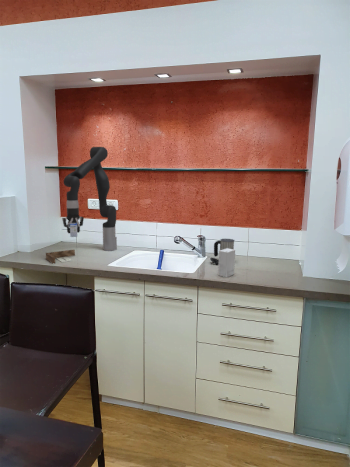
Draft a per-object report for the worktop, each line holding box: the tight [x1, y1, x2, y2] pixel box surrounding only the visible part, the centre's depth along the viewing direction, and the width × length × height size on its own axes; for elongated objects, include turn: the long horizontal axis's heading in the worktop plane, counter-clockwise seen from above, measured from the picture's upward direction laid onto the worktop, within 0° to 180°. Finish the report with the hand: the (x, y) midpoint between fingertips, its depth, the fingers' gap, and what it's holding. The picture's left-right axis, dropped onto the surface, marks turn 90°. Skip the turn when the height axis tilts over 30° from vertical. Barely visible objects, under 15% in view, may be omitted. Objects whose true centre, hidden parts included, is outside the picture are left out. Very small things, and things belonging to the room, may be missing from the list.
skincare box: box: [217, 248, 236, 278], centre depth 197 cm, size 8×6×15 cm
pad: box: [55, 256, 73, 263], centre depth 228 cm, size 7×11×1 cm, turn 36°
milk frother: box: [209, 238, 235, 265], centre depth 224 cm, size 14×16×15 cm
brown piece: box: [45, 249, 76, 264], centre depth 229 cm, size 19×15×4 cm
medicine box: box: [69, 223, 78, 238], centre depth 227 cm, size 8×4×9 cm, turn 17°
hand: (73, 232), depth 228 cm, fingers closed on medicine box, 5 cm apart
